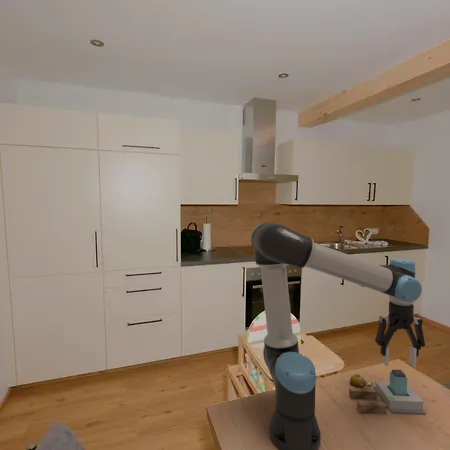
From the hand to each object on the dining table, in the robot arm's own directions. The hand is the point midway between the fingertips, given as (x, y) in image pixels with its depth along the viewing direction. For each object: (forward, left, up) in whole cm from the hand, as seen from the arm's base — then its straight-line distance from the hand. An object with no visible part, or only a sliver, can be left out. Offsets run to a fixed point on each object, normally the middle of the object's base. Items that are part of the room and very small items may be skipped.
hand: (398, 364), depth 104 cm
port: (0, 0, -13) cm, 13 cm away
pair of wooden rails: (-12, -3, -13) cm, 18 cm away
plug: (0, 0, -13) cm, 13 cm away
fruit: (-9, +8, -14) cm, 18 cm away
